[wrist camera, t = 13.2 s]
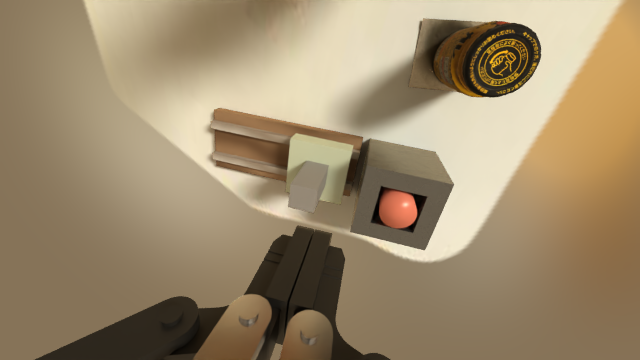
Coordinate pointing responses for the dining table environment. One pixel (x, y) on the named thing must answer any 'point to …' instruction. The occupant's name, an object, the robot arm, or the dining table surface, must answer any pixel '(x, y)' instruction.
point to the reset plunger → (396, 207)
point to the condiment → (474, 57)
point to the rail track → (268, 144)
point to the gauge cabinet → (406, 175)
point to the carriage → (316, 171)
